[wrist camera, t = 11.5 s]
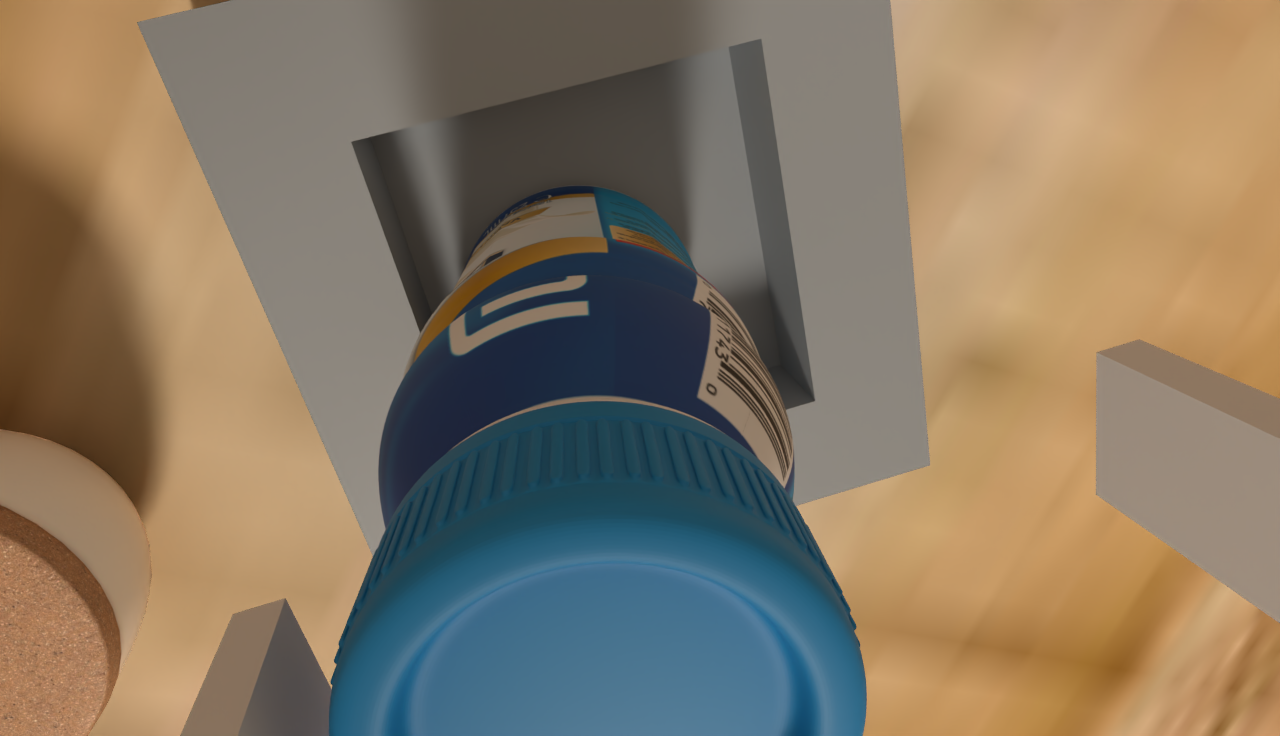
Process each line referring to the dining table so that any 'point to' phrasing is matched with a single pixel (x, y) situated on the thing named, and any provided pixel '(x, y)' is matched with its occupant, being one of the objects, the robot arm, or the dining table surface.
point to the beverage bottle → (592, 508)
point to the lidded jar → (64, 587)
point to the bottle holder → (563, 156)
